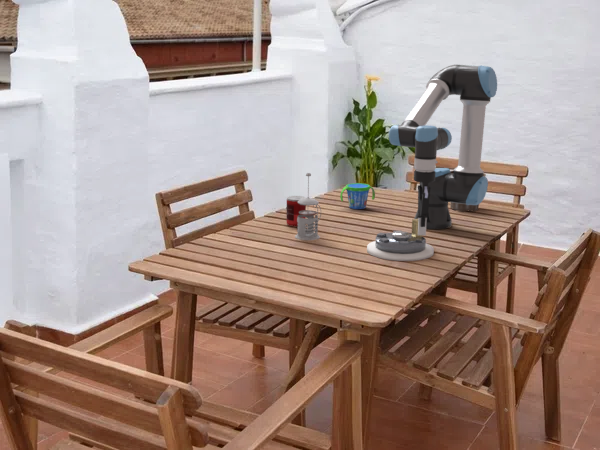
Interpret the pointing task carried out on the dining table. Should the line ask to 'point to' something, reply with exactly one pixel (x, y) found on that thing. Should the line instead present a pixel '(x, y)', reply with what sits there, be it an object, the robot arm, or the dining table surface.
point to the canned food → (294, 210)
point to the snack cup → (357, 195)
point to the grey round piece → (401, 241)
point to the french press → (309, 232)
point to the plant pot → (463, 206)
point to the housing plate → (400, 257)
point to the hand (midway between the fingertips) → (421, 234)
